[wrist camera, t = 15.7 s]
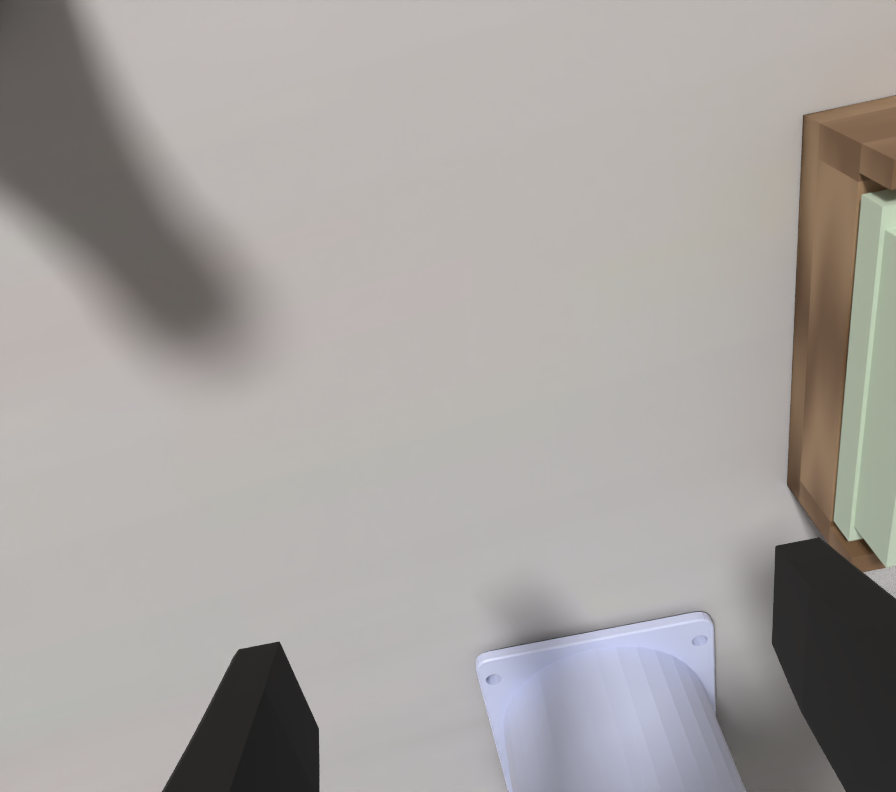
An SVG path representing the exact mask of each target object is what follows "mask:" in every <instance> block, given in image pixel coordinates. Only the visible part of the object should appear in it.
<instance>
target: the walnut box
mask: <svg viewBox="0 0 896 792" xmlns="http://www.w3.org/2000/svg"><path fill="white" fill-rule="evenodd" d="M886 189H890V190H895V189H896V95H895V96H890V97H886V98H881V99H876V100H872V101H867V102H862V103H858V104H853V105H848V106H844V107H839V108H834V109H830V110H825V111H820V112H816V113H811V114H806V115H803V135H802V158H801V181H800V203H799V226H798V249H797V272H796V294H795V317H794V340H793V363H792V386H791V408H790V431H789V454H788V477H787V485H788V487H789V488H790V490H791V491H792V492H793V494H794V495H795V497H796V498H797V500H798V501H799V502H800V504H801V505H802V507H803V508H804V509H805V511H806V512H807V514H808V515H809V517H810V518H811V519H812V521H813V522H814V524H815V525H816V526H817V528H818V529H819V531H820V532H821V534H822V535H823V536H824V538H825V539H826V541H827V542H828V544H829V545H830V546H831V547H832V548H833V549H835V550H836V551H837V552H838V553H840V554H841V555H842V556H843V557H844V558H846V559H847V560H848V561H849V562H851V563H852V564H853V565H854V566H856V567H857V568H858V569H859V570H860V571H862V572H866V571H871V570H876V569H882V568H886V567H885V566H884V565H883V563H882V562H881V561H880V559H879V558H878V557H877V555H876V554H875V553H874V552H873V550H872V549H871V548H870V546H869V545H868V544H867V542H866V541H865V540H864V538H863V539H858V540H853V541H848V540H847V538H846V537H845V536H844V534H843V533H842V532H841V530H840V529H839V528H838V526H837V525H836V524H835V522H834V510H835V498H836V486H837V475H838V463H839V452H840V440H841V428H842V417H843V405H844V394H845V382H846V370H847V359H848V347H849V336H850V324H851V312H852V301H853V289H854V278H855V266H856V254H857V243H858V231H859V220H860V208H861V196H862V194H867V193H872V192H876V191H881V190H886Z"/></svg>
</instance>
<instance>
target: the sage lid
mask: <svg viewBox="0 0 896 792" xmlns="http://www.w3.org/2000/svg"><path fill="white" fill-rule="evenodd" d="M834 522H835V524H836V525H837V526H838V528H839V529H840V530H841V532H842V533H843V534H844V536H845V537H846V538H847V540H848V541H853V540H858V539H863V538H864V540H865V541H866V542H867V544H868V545H869V546H870V548H871V549H872V550H873V552H874V553H875V554H876V555H877V557H878V558H879V559H880V561H881V562H882V563H883V565H884V566H885V567H886V568H887V567H893V566H896V189H895V190H890V189H886V190H881V191H876V192H872V193H867V194H862V196H861V208H860V220H859V231H858V243H857V254H856V266H855V278H854V289H853V301H852V312H851V324H850V336H849V347H848V359H847V370H846V382H845V394H844V405H843V417H842V428H841V440H840V452H839V463H838V475H837V486H836V498H835V510H834Z"/></svg>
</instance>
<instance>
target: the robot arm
mask: <svg viewBox="0 0 896 792" xmlns="http://www.w3.org/2000/svg"><path fill="white" fill-rule="evenodd" d="M699 635H700V636H699ZM696 636H697V637H696ZM772 644H773V647H774V649H775V652H776V654H777V656H778V659H779V661H780V664H781V666H782V668H783V671H784V673H785V676H786V678H787V681H788V683H789V685H790V687H791V690H792V692H793V694H794V696H795V699H796V701H797V703H798V706H799V708H800V710H801V712H802V714H803V716H804V718H805V719H806V721H807V723H808V725H809V727H810V729H811V730H812V732H813V734H814V736H815V737H816V739H817V741H818V743H819V745H820V746H821V748H822V750H823V752H824V753H825V755H826V757H827V759H828V761H829V762H830V764H831V766H832V768H833V769H834V771H835V773H836V775H837V776H838V778H839V780H840V782H841V783H842V785H843V787H844V789H845V790H846V792H896V599H895V598H894V597H893V596H892V595H890V594H889V593H888V592H887V591H885V590H884V589H883V588H882V587H880V586H879V585H878V584H877V583H875V582H874V581H873V580H872V579H870V578H869V577H868V576H867V575H865V574H864V573H863V572H862V571H860V570H859V569H858V568H857V567H856V566H854V565H853V564H852V563H851V562H849V561H848V560H847V559H846V558H844V557H843V556H842V555H841V554H840V553H838V552H837V551H836V550H835V549H833V548H832V547H831V546H830V545H828V544H827V543H826V542H824V541H823V540H822V539H820V538H814V539H809V540H804V541H799V542H793V543H788V544H783V545H778V546H776V547H775V575H774V603H773V630H772ZM475 665H476V672H477V676H478V680H479V683H480V687H481V691H482V695H483V699H484V702H485V706H486V710H487V714H488V718H489V721H490V725H491V729H492V733H493V737H494V740H495V744H496V748H497V752H498V755H499V759H500V763H501V767H502V771H503V774H504V778H505V782H506V786H507V790H508V792H746V789H745V787H744V784H743V782H742V779H741V777H740V775H739V772H738V770H737V767H736V765H735V763H734V760H733V758H732V755H731V753H730V751H729V748H728V746H727V743H726V741H725V738H724V736H723V734H722V731H721V729H720V726H719V724H718V722H717V719H716V703H715V656H714V625H713V623H712V620H711V618H710V616H709V615H708V614H706V613H703V612H693V613H688V614H683V615H677V616H672V617H667V618H662V619H656V620H651V621H646V622H641V623H635V624H630V625H625V626H620V627H614V628H609V629H604V630H599V631H593V632H588V633H583V634H577V635H572V636H567V637H562V638H556V639H551V640H546V641H541V642H535V643H530V644H525V645H520V646H514V647H509V648H504V649H499V650H493V651H488V652H485V653H482V654H481V655H480V656H478V657H477V659H476V663H475ZM493 674H495V675H493ZM162 792H319V728H318V726H317V724H316V721H315V719H314V717H313V715H312V712H311V710H310V708H309V706H308V704H307V701H306V699H305V697H304V695H303V692H302V690H301V688H300V686H299V684H298V681H297V679H296V677H295V675H294V672H293V670H292V668H291V666H290V664H289V661H288V659H287V657H286V655H285V653H284V650H283V648H282V646H281V644H280V642H275V643H270V644H264V645H259V646H254V647H249V648H244V649H239V650H238V651H237V653H236V654H235V655H234V657H233V659H232V661H231V663H230V665H229V667H228V669H227V671H226V673H225V675H224V677H223V679H222V681H221V683H220V685H219V687H218V689H217V691H216V693H215V695H214V696H213V698H212V700H211V702H210V704H209V706H208V708H207V710H206V712H205V714H204V716H203V718H202V720H201V722H200V723H199V725H198V727H197V729H196V731H195V733H194V735H193V737H192V739H191V740H190V742H189V744H188V746H187V748H186V750H185V751H184V753H183V755H182V757H181V759H180V760H179V762H178V764H177V766H176V768H175V769H174V771H173V773H172V775H171V777H170V778H169V780H168V782H167V784H166V786H165V787H164V789H163V791H162Z"/></svg>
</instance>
